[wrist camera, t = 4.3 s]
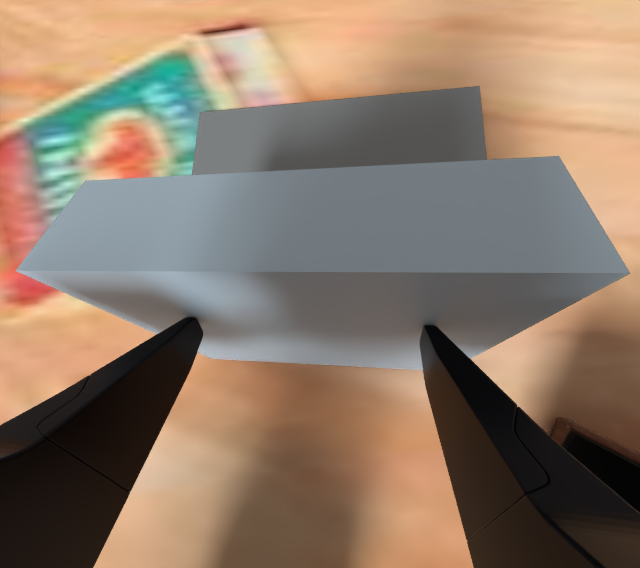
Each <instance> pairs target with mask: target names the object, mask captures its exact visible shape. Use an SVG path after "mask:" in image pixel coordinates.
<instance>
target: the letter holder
mask: <svg viewBox="0 0 640 568" xmlns="http://www.w3.org/2000/svg"><path fill="white" fill-rule="evenodd" d="M551 437H552V438H553V439H554V440H555V441H556V442H557V443H558V444H560V445H561V446H562V447H563V448H564V449H565V450H566V451H567V452H569V453H570V454H571V455H572V456H573V457H574V458H576V459H577V460H578V461H579V462H580V463H581V464H583V465H584V466H585V467H586V468H587V469H588V470H590V471H591V472H592V473H593V474H594V475H595V476H597V477H598V478H599V479H600V480H601V481H602V482H604V483H605V484H606V485H607V486H608V487H609V488H611V489H612V490H613V491H614V492H615V493H617V494H618V495H619V496H620V497H621V498H622V499H624V500H625V501H626V502H627V503H628V504H629V505H631V506H632V507H633V508H634V509H636V510H637V511H638V512H639V513H640V454H639V453H637V452H635V451H633V450H630V449H629V448H627V447H624V446H622V445H620V444H618V443H616V442H614V441H612V440H609V439H608V438H606V437H603V436H601V435H599V434H597V433H595V432H593V431H591V430H589V429H586V428H584V427H582V426H580V425H578V424H576V423H574V422H573V421H571V420H568V419H564V418H557V421H556V425H555V427H554V430H553V432H552V434H551Z"/></svg>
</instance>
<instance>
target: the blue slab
mask: <svg viewBox="0 0 640 568" xmlns="http://www.w3.org/2000/svg"><path fill="white" fill-rule="evenodd" d="M16 271H17V272H20V273H22V274H24V275H26V276H28V277H31V278H33V279H35V280H37V281H40V282H42V283H44V284H46V285H48V286H51V287H53V288H55V289H57V290H60V291H62V292H64V293H66V294H69V295H71V296H73V297H75V298H77V299H80V300H82V301H84V302H86V303H89V304H91V305H93V306H95V307H97V308H100V309H102V310H104V311H106V312H109V313H111V314H113V315H115V316H117V317H120V318H122V319H124V320H126V321H129V322H131V323H133V324H135V325H137V326H140V327H142V328H144V329H146V330H149V331H151V332H153V333H155V334H158V333H160V332H162V331H163V330H165V329H167V328H168V327H170V326H172V325H173V324H175V323H177V322H178V321H180V320H182V319H183V318H185V317H195V318H197V320H198V322H199V324H200V326H201V328H202V330H203V338H202V341H201V343H200V346H199V349H198V353H200V354H202V355H204V356H206V357H209V358H211V359H225V360H244V361H262V362H280V363H299V364H317V365H335V366H354V367H372V368H390V369H408V370H423V366H422V359H421V352H420V337H421V333H422V329H423V326H424V325H435V326H437V327H438V328H439V329H440V330H441V331H442V332H443V333H444V334H445V335H446V336H447V337H448V338H449V339H450V340H451V341H452V342H453V343H454V344H455V345H456V346H457V347H458V348H459V349H460V350H461V351H463V352H464V353H465V354H466V355H467V356H468V357H469V358H470V359H471V358H473V357H475V356H477V355H478V354H480V353H482V352H484V351H486V350H488V349H490V348H491V347H493V346H495V345H497V344H499V343H501V342H503V341H505V340H506V339H508V338H510V337H512V336H514V335H516V334H518V333H520V332H521V331H523V330H525V329H527V328H529V327H531V326H533V325H535V324H536V323H538V322H540V321H542V320H544V319H546V318H548V317H549V316H551V315H553V314H555V313H557V312H559V311H561V310H563V309H564V308H566V307H568V306H570V305H572V304H574V303H576V302H578V301H579V300H581V299H583V298H585V297H587V296H589V295H591V294H593V293H594V292H596V291H598V290H600V289H602V288H604V287H606V286H607V285H609V284H611V283H613V282H615V281H617V280H619V279H621V278H622V277H624V276H626V275H628V274H630V272H629V270H628V269H627V267H626V265H625V264H624V262H623V260H622V259H621V257H620V256H619V254H618V252H617V251H616V249H615V247H614V246H613V244H612V242H611V241H610V239H609V238H608V236H607V234H606V233H605V231H604V229H603V228H602V226H601V224H600V223H599V221H598V219H597V218H596V216H595V215H594V213H593V211H592V210H591V208H590V206H589V205H588V203H587V201H586V200H585V198H584V197H583V195H582V193H581V192H580V190H579V188H578V187H577V185H576V183H575V182H574V180H573V178H572V177H571V175H570V174H569V172H568V170H567V169H566V167H565V165H564V164H563V162H562V160H561V159H560V157H559V156H551V157H532V158H513V159H494V160H475V161H456V162H436V163H417V164H398V165H379V166H360V167H341V168H322V169H302V170H283V171H264V172H245V173H226V174H207V175H187V176H168V177H149V178H130V179H111V180H92V181H85V182H84V183H83V184H82V186H81V187H80V188H79V190H78V191H77V192H76V193H75V195H74V196H73V197H72V199H71V200H70V201H69V202H68V204H67V205H66V206H65V208H64V209H63V210H62V212H61V213H60V214H59V215H58V217H57V218H56V219H55V221H54V222H53V223H52V224H51V226H50V227H49V228H48V230H47V231H46V232H45V234H44V235H43V236H42V237H41V239H40V240H39V241H38V243H37V244H36V245H35V246H34V248H33V249H32V250H31V252H30V253H29V254H28V255H27V257H26V258H25V259H24V261H23V262H22V263H21V265H20V266H19V267H18V268H17V270H16Z"/></svg>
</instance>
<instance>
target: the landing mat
mask: <svg viewBox="0 0 640 568" xmlns="http://www.w3.org/2000/svg"><path fill="white" fill-rule="evenodd" d="M475 160H487V158H486V148H485V138H484V128H483V117H482V107H481V97H480V87H479V86H475V87H464V88H454V89H443V90H432V91H422V92H411V93H400V94H390V95H379V96H368V97H358V98H347V99H337V100H326V101H315V102H305V103H294V104H283V105H273V106H262V107H251V108H241V109H230V110H219V111H209V112H200V116H199V124H198V131H197V139H196V147H195V155H194V162H193V170H192V175H207V174H226V173H245V172H264V171H283V170H302V169H322V168H341V167H360V166H379V165H398V164H417V163H436V162H456V161H475Z"/></svg>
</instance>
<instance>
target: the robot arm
mask: <svg viewBox="0 0 640 568" xmlns="http://www.w3.org/2000/svg"><path fill="white" fill-rule="evenodd" d="M202 338H203V330H202V328H201V326H200V324H199V322H198V320H197V318H195V317H185V318H183V319H182V320H180V321H178V322H177V323H175V324H173V325H172V326H170V327H168V328H167V329H165V330H163V331H162V332H160V333H158V334H157V335H155V336H153V337H152V338H150V339H148V340H147V341H145V342H144V343H142V344H140V345H139V346H137V347H135V348H134V349H132V350H130V351H129V352H127V353H125V354H124V355H122V356H120V357H119V358H117V359H115V360H114V361H112V362H110V363H109V364H107V365H105V366H104V367H102V368H100V369H99V370H97V371H95V372H94V373H92V374H91V375H90V376H87V377H85V378H84V379H82V380H80V381H79V382H77V383H76V384H74V385H72V386H70V387H69V388H67V389H65V390H64V391H62V392H60V393H58V394H57V395H55V396H53V397H51V398H49V399H48V400H46V401H44V402H42V403H40V404H39V405H37V406H35V407H33V408H31V409H29V410H28V411H26V412H24V413H22V414H20V415H18V416H17V417H15V418H13V419H11V420H9V421H7V422H6V423H4V424H2V425H0V568H93V567H94V565H95V563H96V561H97V559H98V557H99V555H100V553H101V551H102V549H103V547H104V545H105V543H106V541H107V539H108V537H109V535H110V532H111V530H112V528H113V526H114V524H115V522H116V520H117V518H118V516H119V514H120V512H121V510H122V508H123V506H124V504H125V502H126V500H127V498H128V496H129V494H130V491H131V490H132V488H133V486H134V484H135V482H136V479H137V477H138V475H139V473H140V471H141V469H142V467H143V465H144V463H145V461H146V459H147V457H148V455H149V453H150V451H151V449H152V447H153V445H154V443H155V441H156V439H157V437H158V435H159V433H160V431H161V429H162V427H163V425H164V423H165V421H166V419H167V417H168V415H169V413H170V411H171V409H172V407H173V405H174V403H175V401H176V398H177V396H178V394H179V392H180V390H181V388H182V386H183V384H184V382H185V380H186V378H187V376H188V374H189V372H190V370H191V367H192V365H193V362H194V360H195V357H196V354H197V352H198V349H199V346H200V343H201V341H202ZM420 352H421V359H422V366H423V373H424V380H425V386H426V390H427V394H428V398H429V401H430V405H431V409H432V413H433V416H434V420H435V424H436V428H437V431H438V435H439V439H440V443H441V446H442V450H443V454H444V457H445V461H446V465H447V469H448V472H449V476H450V480H451V484H452V487H453V491H454V495H455V498H456V502H457V506H458V510H459V513H460V517H461V521H462V525H463V528H464V532H465V536H466V539H467V541H468V542H467V544H468V547H469V551H470V555H471V559H472V562H473V566H474V568H640V513H639V512H638V511H637V510H636V509H634V508H633V507H632V506H631V505H629V504H628V503H627V502H626V501H625V500H624V499H622V498H621V497H620V496H619V495H618V494H617V493H615V492H614V491H613V490H612V489H611V488H609V487H608V486H607V485H606V484H605V483H604V482H602V481H601V480H600V479H599V478H598V477H597V476H595V475H594V474H593V473H592V472H591V471H590V470H588V469H587V468H586V467H585V466H584V465H583V464H581V463H580V462H579V461H578V460H577V459H576V458H574V457H573V456H572V455H571V454H570V453H569V452H567V451H566V450H565V449H564V448H563V447H562V446H561V445H560V444H558V443H557V442H556V441H555V440H554V439H553V438H552V437H550V436H549V435H548V434H547V433H546V432H545V431H544V430H543V429H542V428H541V427H540V426H539V425H538V424H537V423H535V422H534V421H533V420H532V419H531V418H530V417H529V416H528V415H527V414H526V413H525V412H524V411H523V410H522V409H521V408H520V407H517V404H516V403H515V402H514V401H513V400H512V399H511V398H510V397H509V396H508V395H507V394H505V393H504V392H503V391H502V390H501V389H500V388H499V387H498V386H497V385H496V384H495V383H494V382H493V381H492V380H491V379H490V378H489V377H488V376H487V375H486V374H485V373H484V372H483V371H482V370H481V369H480V368H479V367H478V366H477V365H476V364H475V363H474V362H473V361H472V360H471V359H470V358H469V357H468V356H467V355H466V354H465V353H464V352H463V351H461V350H460V349H459V348H458V347H457V346H456V345H455V344H454V343H453V342H452V341H451V340H450V339H449V338H448V337H447V336H446V335H445V334H444V333H443V332H442V331H441V330H440V329H439V328H438V327H437V326H435V325H424V326H423V329H422V333H421V337H420Z"/></svg>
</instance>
